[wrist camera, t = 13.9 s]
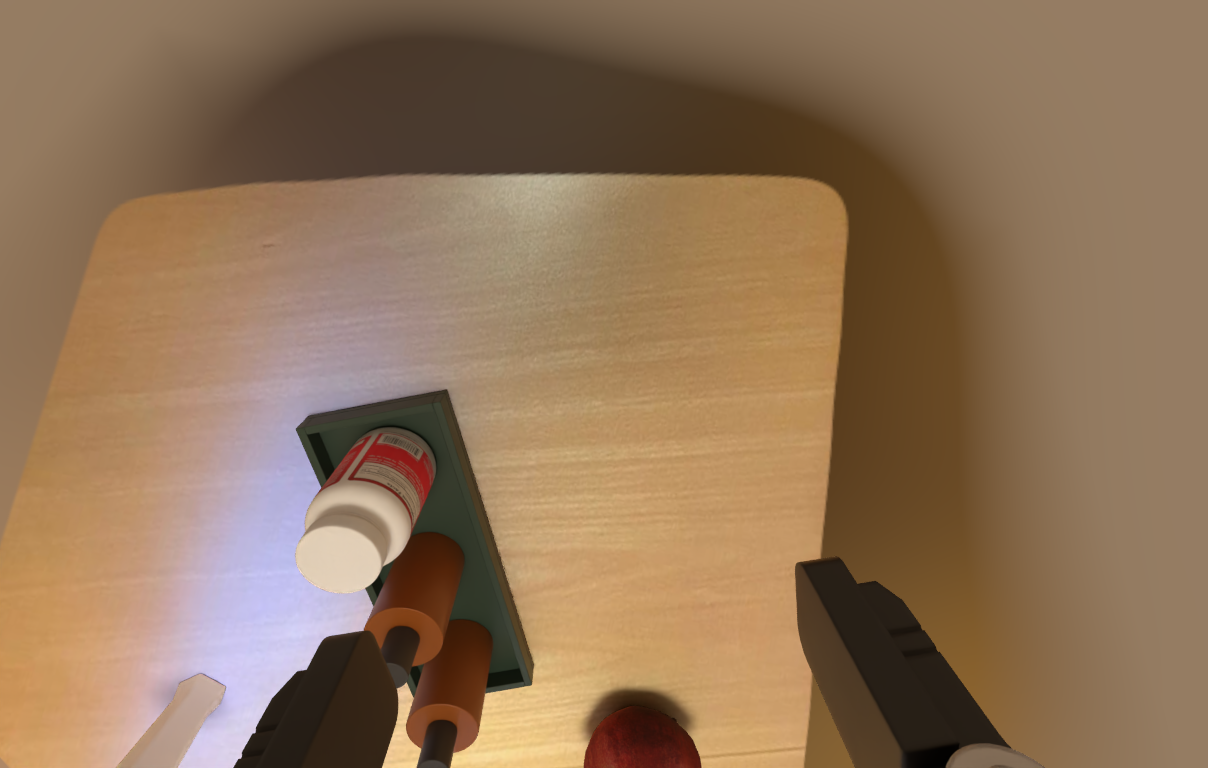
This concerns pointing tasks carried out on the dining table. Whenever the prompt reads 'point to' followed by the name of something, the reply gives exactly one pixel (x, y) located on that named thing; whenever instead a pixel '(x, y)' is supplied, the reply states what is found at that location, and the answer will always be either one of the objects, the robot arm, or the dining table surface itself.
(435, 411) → the tray
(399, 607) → the amber bottle middle
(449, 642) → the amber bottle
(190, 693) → the white faceted vase
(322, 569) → the pill bottle
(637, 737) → the fruit
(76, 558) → the dining table surface
